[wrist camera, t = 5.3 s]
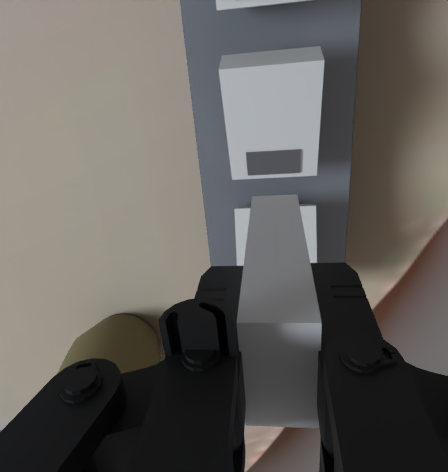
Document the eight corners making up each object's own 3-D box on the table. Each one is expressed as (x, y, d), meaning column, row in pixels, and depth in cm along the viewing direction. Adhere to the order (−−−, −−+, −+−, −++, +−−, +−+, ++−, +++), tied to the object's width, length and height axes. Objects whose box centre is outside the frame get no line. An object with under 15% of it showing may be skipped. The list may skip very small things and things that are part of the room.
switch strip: (170, -219, 19) (137, -308, 14) (359, -256, 17) (391, -367, 13) (221, 267, 31) (212, 306, 26) (333, 265, 30) (345, 305, 25)
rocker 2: (237, 206, 23) (234, 208, 21) (312, 203, 23) (316, 205, 21) (241, 299, 24) (238, 309, 22) (314, 299, 24) (317, 309, 22)
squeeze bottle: (166, 304, 33) (70, 544, 17) (173, 372, 37) (99, 621, 21) (79, 300, 34) (-91, 524, 18) (94, 366, 38) (-36, 601, 22)
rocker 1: (221, 55, 18) (218, 70, 17) (320, 46, 17) (324, 60, 16) (233, 161, 22) (231, 180, 21) (313, 157, 21) (316, 176, 20)
